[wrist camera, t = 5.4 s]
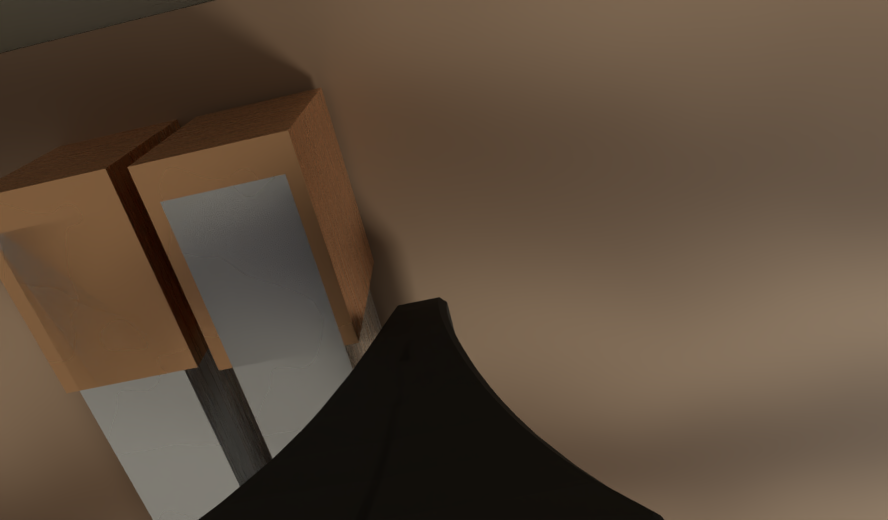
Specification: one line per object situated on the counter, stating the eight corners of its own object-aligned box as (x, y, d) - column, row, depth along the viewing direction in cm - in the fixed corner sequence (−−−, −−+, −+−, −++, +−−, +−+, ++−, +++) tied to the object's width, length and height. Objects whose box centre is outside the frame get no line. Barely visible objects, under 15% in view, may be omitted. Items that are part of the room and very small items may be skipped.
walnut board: (866, 628, 18) (901, 683, 17) (53, 749, 20) (26, 807, 19) (932, -179, 10) (1010, -197, 9) (-436, 161, 12) (-545, 189, 11)
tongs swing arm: (489, 642, 16) (498, 761, 13) (406, 655, 16) (401, 774, 14) (320, 87, 10) (287, 130, 8) (196, 116, 10) (127, 167, 8)
